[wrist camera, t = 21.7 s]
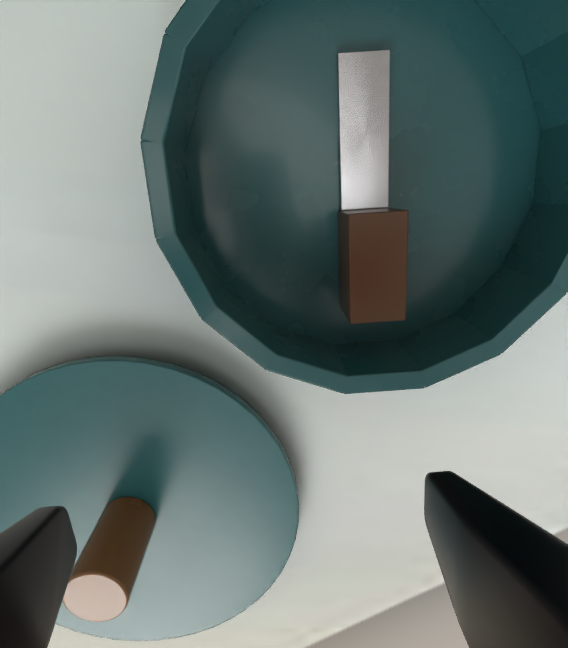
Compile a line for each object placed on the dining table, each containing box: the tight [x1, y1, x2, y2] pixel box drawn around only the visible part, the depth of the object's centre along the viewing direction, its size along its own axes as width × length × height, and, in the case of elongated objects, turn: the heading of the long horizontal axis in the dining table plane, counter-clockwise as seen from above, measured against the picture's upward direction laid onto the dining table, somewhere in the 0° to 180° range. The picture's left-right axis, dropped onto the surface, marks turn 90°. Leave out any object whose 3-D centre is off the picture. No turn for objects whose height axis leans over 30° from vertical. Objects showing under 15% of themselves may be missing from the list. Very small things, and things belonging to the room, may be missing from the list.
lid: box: [0, 356, 299, 641], centre depth 18 cm, size 15×15×5 cm
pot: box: [141, 0, 568, 394], centre depth 14 cm, size 14×14×4 cm
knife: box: [336, 49, 409, 324], centre depth 15 cm, size 9×2×2 cm, turn 4°
